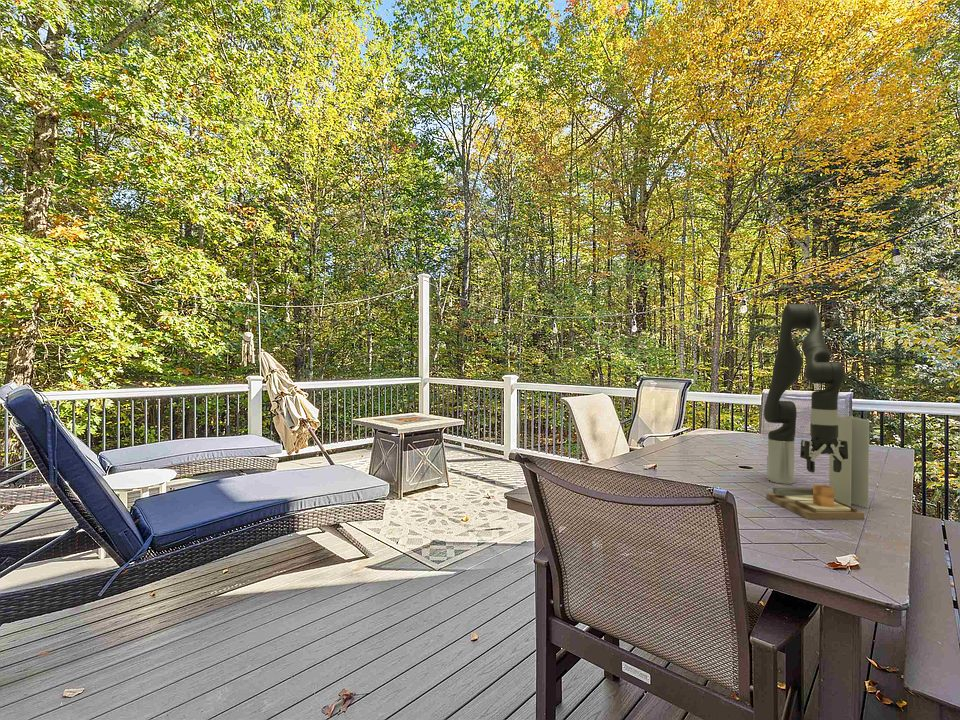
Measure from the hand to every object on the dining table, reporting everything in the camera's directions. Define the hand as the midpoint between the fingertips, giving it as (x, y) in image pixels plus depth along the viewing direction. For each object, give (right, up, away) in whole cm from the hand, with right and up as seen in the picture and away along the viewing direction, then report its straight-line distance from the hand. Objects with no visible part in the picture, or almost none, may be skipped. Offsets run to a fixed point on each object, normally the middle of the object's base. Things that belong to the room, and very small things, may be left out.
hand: (823, 471), depth 159 cm
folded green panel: (+18, -14, +13) cm, 26 cm away
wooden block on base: (0, -12, 0) cm, 12 cm away
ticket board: (0, -14, +6) cm, 15 cm away
